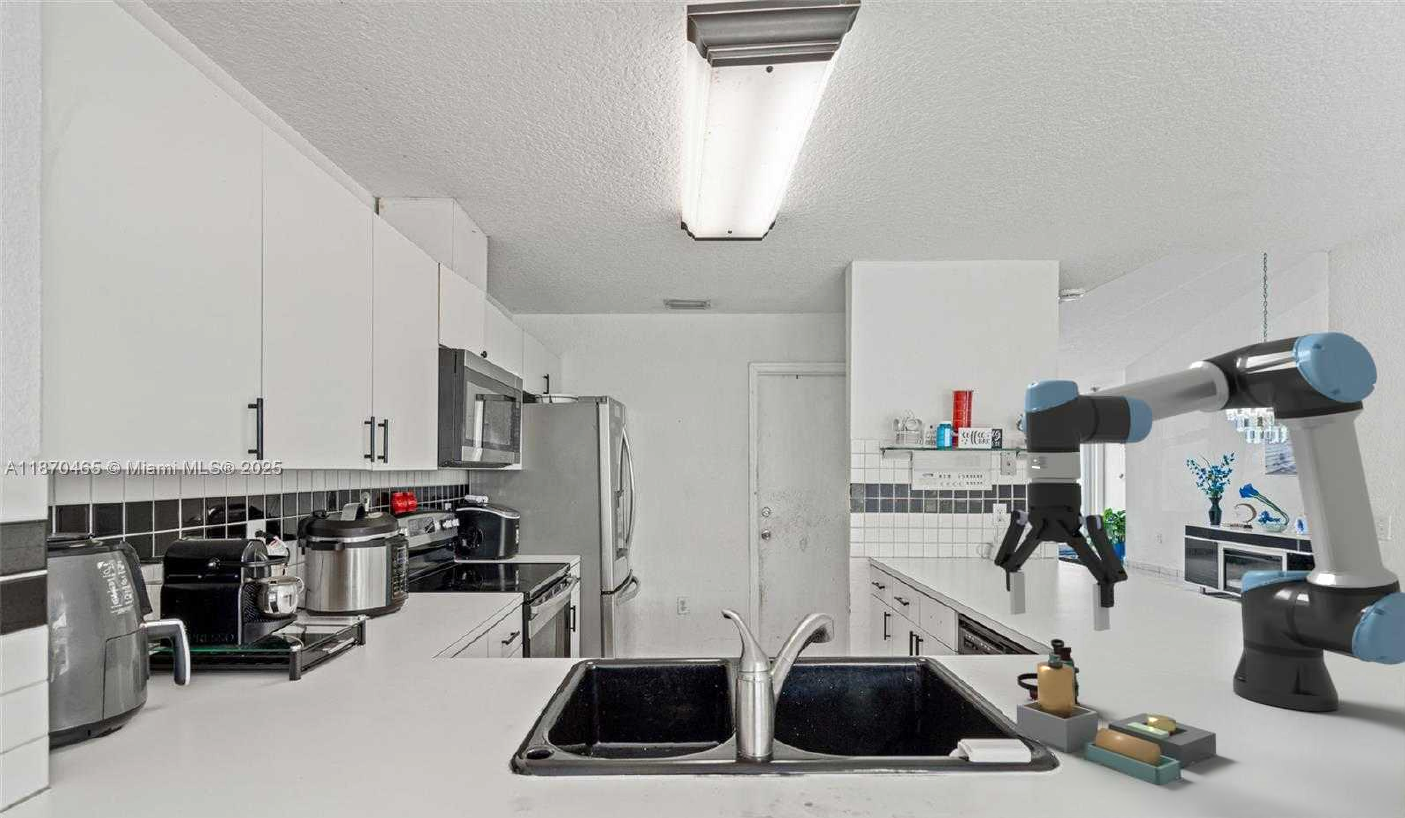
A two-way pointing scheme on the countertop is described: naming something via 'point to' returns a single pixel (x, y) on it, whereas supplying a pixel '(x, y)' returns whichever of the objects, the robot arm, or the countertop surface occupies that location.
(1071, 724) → the open box
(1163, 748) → the base
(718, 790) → the countertop surface
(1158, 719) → the yellow rounded lump
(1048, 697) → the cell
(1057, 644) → the binoculars
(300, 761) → the countertop surface
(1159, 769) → the trough
